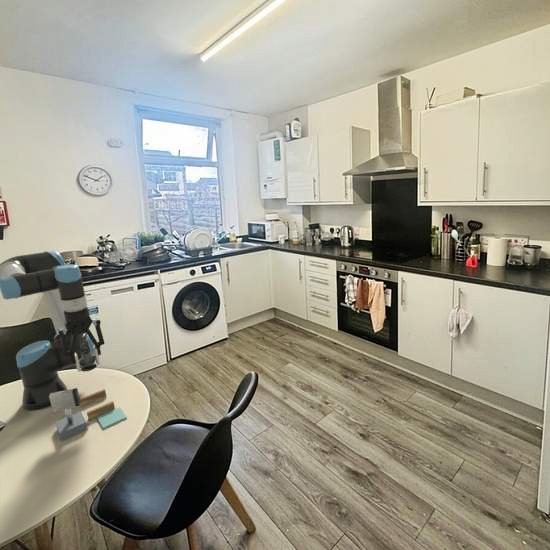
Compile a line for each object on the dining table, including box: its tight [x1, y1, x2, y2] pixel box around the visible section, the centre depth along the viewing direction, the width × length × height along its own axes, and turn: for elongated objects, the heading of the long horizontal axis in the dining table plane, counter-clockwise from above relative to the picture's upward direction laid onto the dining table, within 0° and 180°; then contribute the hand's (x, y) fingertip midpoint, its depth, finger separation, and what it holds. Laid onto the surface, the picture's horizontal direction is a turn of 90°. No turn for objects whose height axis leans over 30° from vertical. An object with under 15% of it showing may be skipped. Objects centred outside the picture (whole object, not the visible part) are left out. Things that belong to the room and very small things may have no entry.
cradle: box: [80, 388, 116, 421], centre depth 130 cm, size 12×9×3 cm
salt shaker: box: [78, 338, 98, 372], centre depth 124 cm, size 6×6×12 cm
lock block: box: [55, 411, 89, 442], centre depth 118 cm, size 8×8×3 cm
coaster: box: [96, 406, 128, 430], centre depth 123 cm, size 8×8×1 cm
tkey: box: [49, 387, 81, 422], centre depth 116 cm, size 8×2×11 cm, turn 107°
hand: (88, 366), depth 126 cm, fingers closed on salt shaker, 6 cm apart
